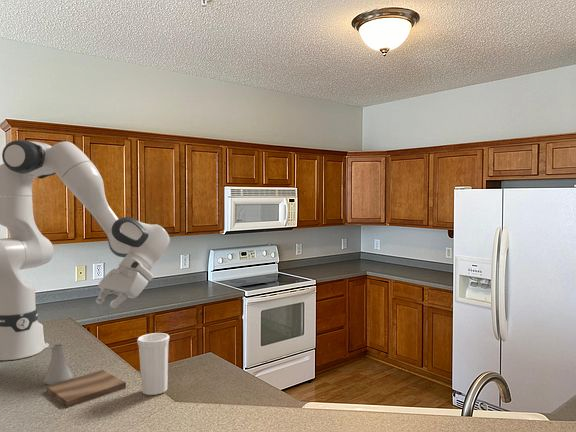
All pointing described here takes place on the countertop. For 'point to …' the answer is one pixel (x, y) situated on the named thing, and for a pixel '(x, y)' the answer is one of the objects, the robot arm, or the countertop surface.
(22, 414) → the countertop surface
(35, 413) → the countertop surface
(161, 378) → the cup
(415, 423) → the countertop surface
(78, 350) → the countertop surface
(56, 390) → the walnut board
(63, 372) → the flask
